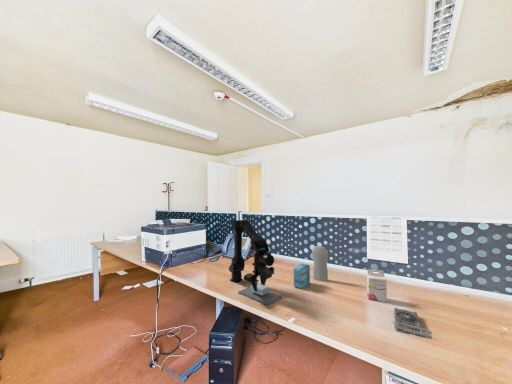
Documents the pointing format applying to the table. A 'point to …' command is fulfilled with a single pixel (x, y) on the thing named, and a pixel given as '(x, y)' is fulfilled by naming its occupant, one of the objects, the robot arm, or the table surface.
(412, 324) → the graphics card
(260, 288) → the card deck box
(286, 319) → the table surface
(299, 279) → the data package
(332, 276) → the table surface
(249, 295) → the mat
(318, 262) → the tall pale column
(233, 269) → the robot arm
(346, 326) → the table surface
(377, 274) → the ink cartridge box
